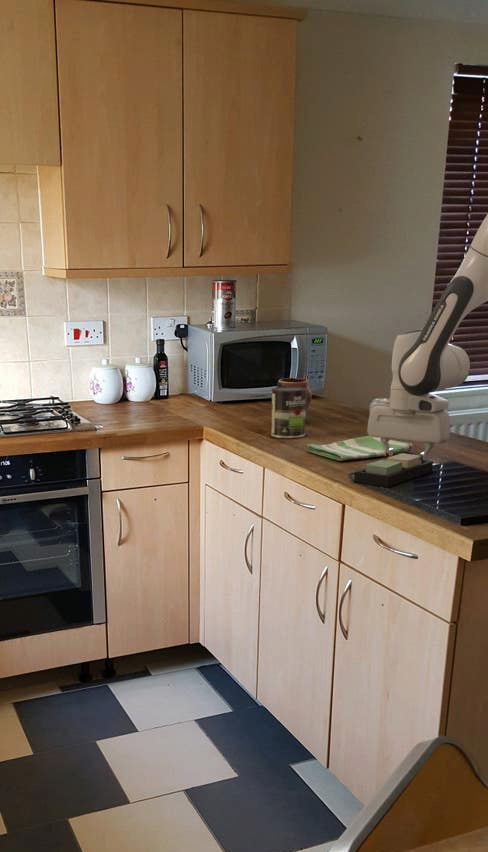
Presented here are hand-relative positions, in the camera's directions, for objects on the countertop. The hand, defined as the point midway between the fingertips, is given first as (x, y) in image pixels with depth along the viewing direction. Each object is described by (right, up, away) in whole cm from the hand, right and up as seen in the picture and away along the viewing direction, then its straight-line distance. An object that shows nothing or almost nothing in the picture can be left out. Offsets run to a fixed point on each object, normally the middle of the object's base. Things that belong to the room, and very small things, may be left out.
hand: (405, 458), depth 212 cm
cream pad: (0, -2, +1) cm, 3 cm away
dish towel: (-5, +5, +26) cm, 27 cm away
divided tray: (-3, -5, -2) cm, 6 cm away
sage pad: (-7, -5, -5) cm, 10 cm away
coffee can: (-21, +14, +54) cm, 59 cm away
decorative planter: (-17, +22, +76) cm, 80 cm away
